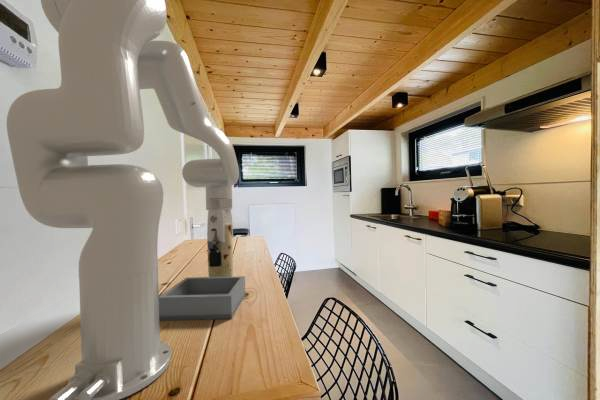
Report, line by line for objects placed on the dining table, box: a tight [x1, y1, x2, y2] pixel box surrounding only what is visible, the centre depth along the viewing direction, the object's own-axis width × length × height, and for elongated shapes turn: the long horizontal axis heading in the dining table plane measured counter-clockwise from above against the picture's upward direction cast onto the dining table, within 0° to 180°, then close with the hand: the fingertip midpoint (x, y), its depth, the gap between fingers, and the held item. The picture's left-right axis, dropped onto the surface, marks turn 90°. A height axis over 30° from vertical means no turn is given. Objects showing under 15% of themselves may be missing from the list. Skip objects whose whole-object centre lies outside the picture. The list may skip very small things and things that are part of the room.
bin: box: [159, 275, 246, 321], centre depth 58 cm, size 13×16×5 cm
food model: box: [206, 221, 234, 277], centre depth 72 cm, size 10×7×20 cm
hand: (220, 261), depth 72 cm, fingers closed on food model, 8 cm apart
